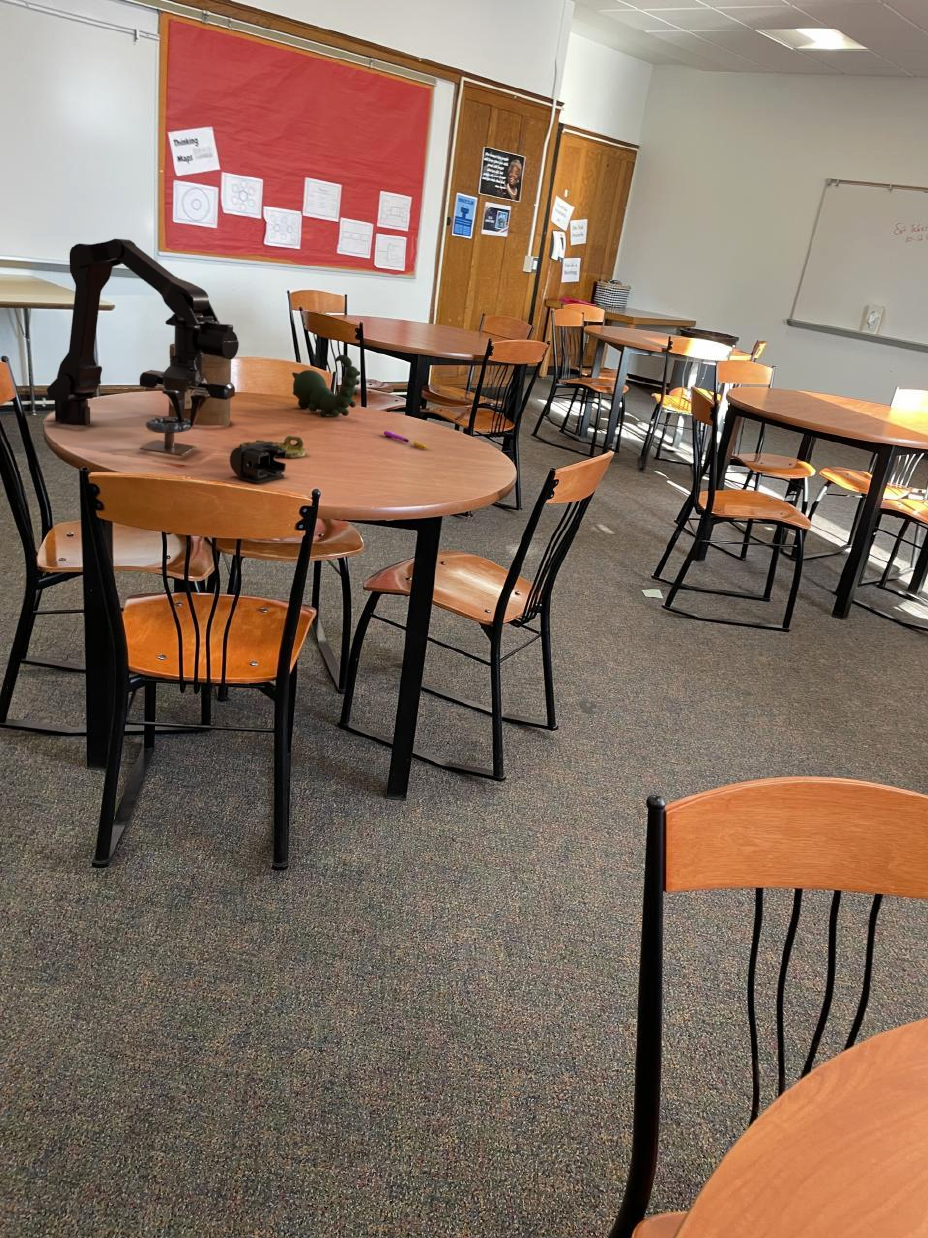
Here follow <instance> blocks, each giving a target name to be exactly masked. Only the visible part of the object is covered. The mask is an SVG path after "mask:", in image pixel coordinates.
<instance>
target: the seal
mask: <svg viewBox="0 0 928 1238" xmlns="http://www.w3.org/2000/svg"><path fill="white" fill-rule="evenodd" d="M291 441H293V442H296V443H292V442H291ZM264 442H267V441H265V440H260V439H259V440H258V439H257V440H255V441H254V442H251V441H245V442H242V443H240V444H239V446H238V447H243V446H248V445H253V444H258V443H264ZM272 442H273V446H274V447H278V448H281V449H285V450H286V458H284V457H280V456H275V458H283V459H295V458H301V457H305V456H306V448H304V439H303V437H300V436H292V435H288V436H286V437H285V439H284V442H276V441H275V442H274V441H272Z"/></svg>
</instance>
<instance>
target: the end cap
mask: <svg viewBox="0 0 928 1238" xmlns="http://www.w3.org/2000/svg"><path fill="white" fill-rule="evenodd" d="M273 442H274V441H266V442H264V443H258V444H253V445H248V446H243V447H239V446H237V447H235V448H234V449H233V450H232V451H231V452H230V455H229V466H230V467H231V468H230V469H232V471H233V473H234V474H235V475H236V476H237V477H238V478H239V479H240V480H242V481H243V482H248V483H251V484H255V485H260V484H264V483H268V482H273V481H276V480H281V479H283V478H285V474H284V472H286V467H287V464H286V463H285V462H281V461H279V460H276V457H275V456H280V457H279V458H282V457H284V458H283V459H287V458H286V450H285V449H281V448H278V447H274V446H273Z"/></svg>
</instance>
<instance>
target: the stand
mask: <svg viewBox="0 0 928 1238" xmlns="http://www.w3.org/2000/svg"><path fill="white" fill-rule="evenodd" d="M174 422H175V420H174V419H169V418H167V419H165V424H169V423H174ZM196 448H197V445H192V444H186V443H180V442H175V433H164V439H163V440H160V439H156V440H154V441H152V442H150V443H148V444H146V445H144V446H141V447H140V450H144V451H150V452H156V453H162V454H168V455H174V456H180V457H182V456H184V455H186V454H188V453H189V452H192V451H193V450H195V449H196Z"/></svg>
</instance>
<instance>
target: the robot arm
mask: <svg viewBox="0 0 928 1238" xmlns="http://www.w3.org/2000/svg"><path fill="white" fill-rule="evenodd" d="M68 258H69V272H70V275H71V277H72V280H73V282H74V285H75V290H74V298H73V299H74V300H73V310H72V316H71V317H72V319H71V327H70V336H69V337H70V338H69V345H68V346H69V347H68V351H67V353H66V355H65V356H64V357H63V359H62V360H61V362H60V363H59V367H58V371H57V374H56V379H54V380H53V382H51V383H50V385H49V386H47V388H46V392H47V396H48V398H49V399H50V400H53V401H54V421H55V422H58V423H59V424H63V425H69V426H88V425H91V407H90V406H89V399H90V400H92V399H93V398H94V396H95V393H96V391H97V390H98V388H99V385H101V384H102V380H101V376H102V372H103V367H102V366H101V365H98V364H97V361H96V360H95V357H94V351H95V343H96V334H97V326H98V318H99V310H100V301H101V294H102V291H103V289H104V288H105V286H106V284H107V283H108V282H109V280H110V278H111V275H112V272H113V267H117V266H120V265H123V266H125V267H126V268H127V269H129V270H130V271H131V272H132V273H133V274H135V275H136V276H137V277H139V278H140V279H141V280H143V281H144V282H145V283H146V284H148V285H149V286H150V287H151V288H153V289H154V290H155V291H156V292H157V293H159V295H160V296H161V298H162V300H163V302H164V304H165V305H166V306H167V308H168V309H170V310H171V312H172V313H173V314H172V315H171V317H169V318H168V319H166V320H165V324H166V325H167V326H171V327H174V340H173V341H174V342H173V344H174V355H172V362H171V365H170V364H169V366H168V367H166V369H165V370H164V371H161V370H154V369H150V370H146V371H143V372H142V373H141V374H140V376H139V386H140V387H141V388H142V387H143V388H150V389H154V388H157V386H158V385H161V386H163V390H161V393H162V394H163V395H166V396H167V397H168V399H169V398H170V399H171V401H172V403H173V406H174V408H175V411H176V414H177V417H178V420H179V423H181V422H184V414H185V392H187V391H188V390H189V389H190V390H195V391H194V392H195V394H194V395H192V396H190V397H191V401H192V406H191V416H190V426H193V427H194V426H195V425H196V424H195V422H196V419H197V417H198V415H199V413H200V410H201V408H202V406H203V405H204V403H205V401H206V400H207V399H209V398H217V399H223V400H227V399H230V398H231V399H232V398H234V397H235V396H236V387H235V385H234V383H233V382H231V383H229V382H223V381H214V382H212V383H210V384H209V383H203V382H202V381H204V376H202V366H203V361H204V358H205V356H203V353H204V354H206V355H210V356H215V357H220V358H224V359H229V360H231V361H232V360H233V359H234V358H235V357H236V356H237V354H238V351H239V346H240V342H239V340H238V335H237V334H236V332H235V331H234V325H233V324H229V323H220V320H219V318H218V317H217V315H216V313H215V310H214V308H213V306H212V304H211V303H210V299H209V294H208V293H207V291H206V290H205V289H203V288H201V287H200V286H198V285H195V284H194V283H192V282H190V281H187V280H184V279H182V278H179V277H177V276H176V275H174V274H173V273H172V272H170V271H169V270H168V269H167V268H165V267H164V266H162V265H161V264H160V263H159V262H157V261H156V260H155V259H154V258H152V257H151V256H150V255H148V253H146V252H144V251H143V250H142V249H141V248H139V246H137V244H136V243H135V242H133V241H132V240H131V239H125V238H113V239H110V240H107V241H103V242H97V243H91V244H90V243H76V244H74V245H73V246H71V248H70V250H69V257H68Z"/></svg>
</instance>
